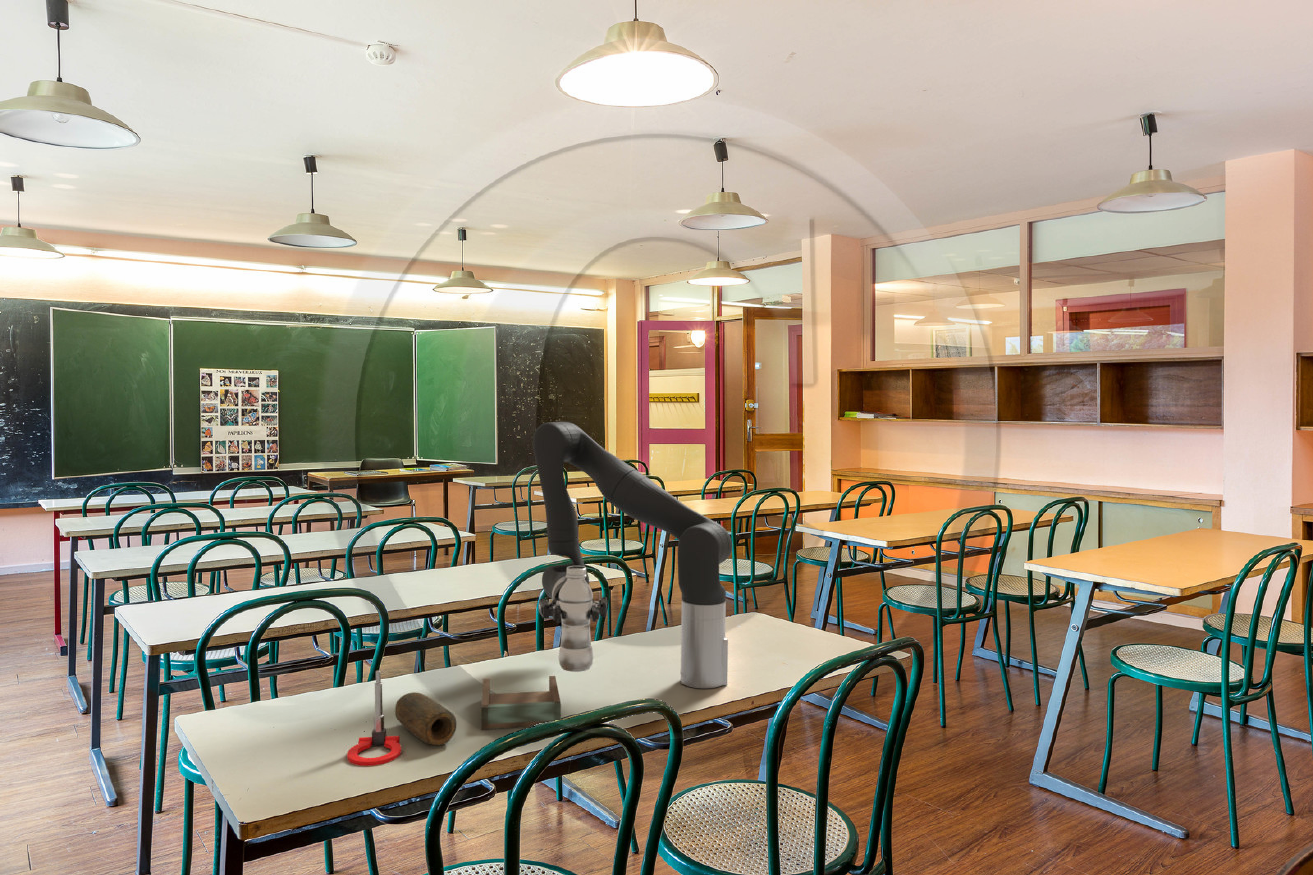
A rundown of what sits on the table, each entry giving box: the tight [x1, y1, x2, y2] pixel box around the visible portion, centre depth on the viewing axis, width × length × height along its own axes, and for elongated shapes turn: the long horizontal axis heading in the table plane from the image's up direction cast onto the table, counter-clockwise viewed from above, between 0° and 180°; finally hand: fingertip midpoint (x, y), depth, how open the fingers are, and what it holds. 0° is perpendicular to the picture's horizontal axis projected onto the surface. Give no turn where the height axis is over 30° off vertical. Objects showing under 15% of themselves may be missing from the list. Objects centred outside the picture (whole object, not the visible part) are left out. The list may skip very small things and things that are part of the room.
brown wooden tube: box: [394, 692, 457, 746], centre depth 149 cm, size 15×7×7 cm, turn 41°
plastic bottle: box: [558, 566, 594, 673], centre depth 165 cm, size 6×7×20 cm
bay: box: [480, 675, 562, 731], centre depth 161 cm, size 14×16×4 cm
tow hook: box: [346, 670, 402, 767], centre depth 141 cm, size 8×13×9 cm
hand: (576, 617), depth 162 cm, fingers closed on plastic bottle, 6 cm apart
